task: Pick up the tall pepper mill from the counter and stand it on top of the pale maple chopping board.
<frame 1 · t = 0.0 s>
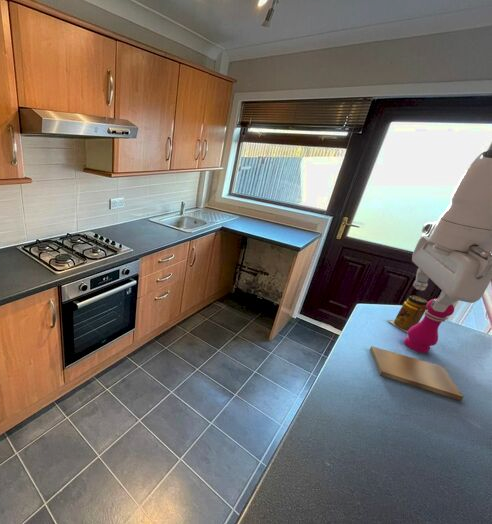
hand: (426, 298, 60), 31 cm above the countertop, tool pointing down, fingers open, 8 cm apart
condiment: (405, 326, 105), on the countertop
chopping board: (410, 372, 83), on the countertop
pepper mill: (415, 347, 94), on the countertop
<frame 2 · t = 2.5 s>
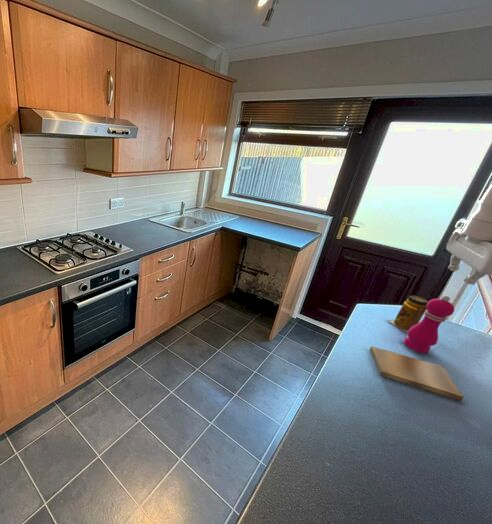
hand: (459, 276, 82), 27 cm above the countertop, tool pointing down, fingers open, 8 cm apart
nothing on the countertop moved.
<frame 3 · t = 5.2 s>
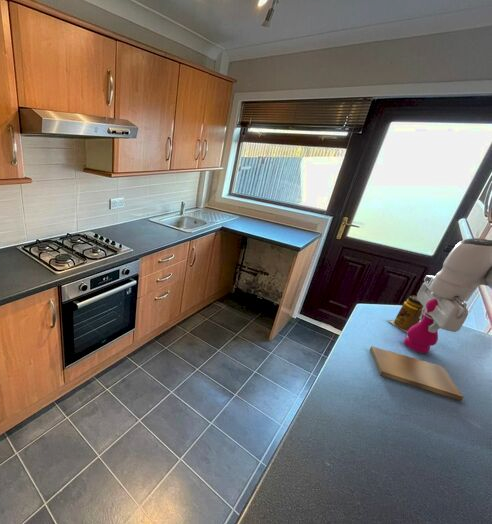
hand: (426, 325, 91), 9 cm above the countertop, tool pointing down, fingers closed on pepper mill, 5 cm apart
pepper mill: (415, 347, 94), on the countertop, touching arm, gripper
everything else where it was.
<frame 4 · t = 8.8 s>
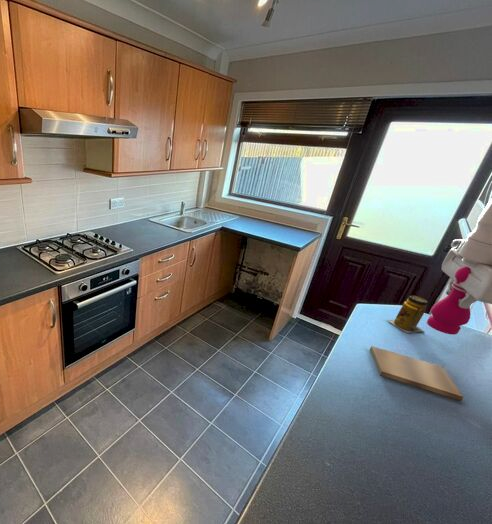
hand: (455, 300, 74), 25 cm above the countertop, tool pointing down, fingers closed on pepper mill, 5 cm apart
pepper mill: (441, 328, 77), point 16 cm above the countertop, touching arm, gripper
everything else where it was.
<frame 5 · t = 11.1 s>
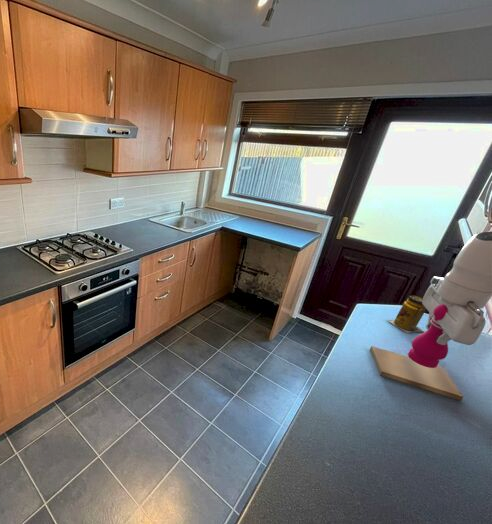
hand: (434, 336, 77), 14 cm above the countertop, tool pointing down, fingers closed on pepper mill, 5 cm apart
pepper mill: (421, 360, 81), point 5 cm above the countertop, touching arm, gripper
everything else where it was.
when the fingers open (10 cm above the countertop, at t = 12.6 s): pepper mill stays where it is, resting on chopping board.
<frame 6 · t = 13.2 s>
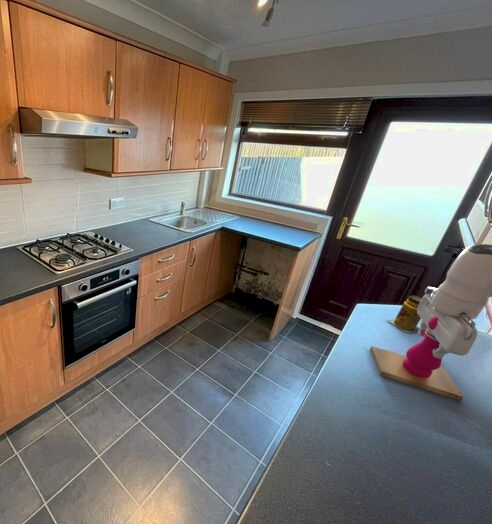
hand: (428, 345, 79), 11 cm above the countertop, tool pointing down, fingers open, 8 cm apart
pepper mill: (415, 370, 82), point 1 cm above the countertop, touching chopping board
everything else where it was.
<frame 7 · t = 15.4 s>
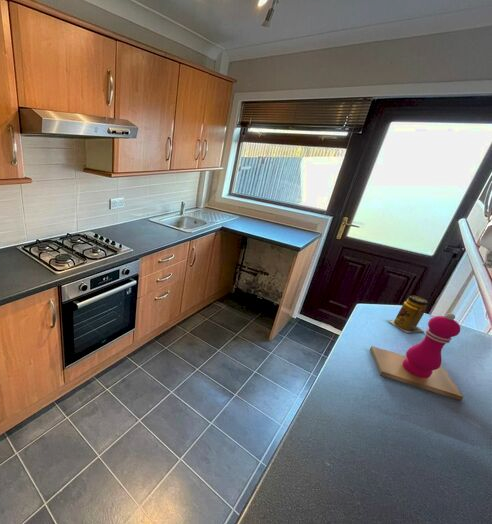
nothing on the countertop moved.
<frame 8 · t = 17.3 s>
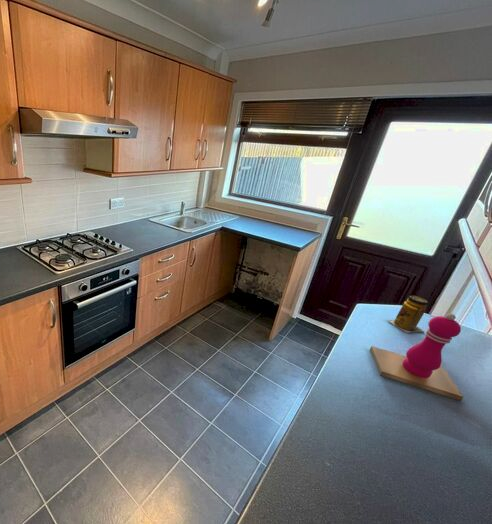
nothing on the countertop moved.
at the end: pepper mill inside the target area on the chopping board (0.6 cm from its centre), point 1.3 cm above the chopping board's base; pepper mill tilted 0°; the gripper is holding nothing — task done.
